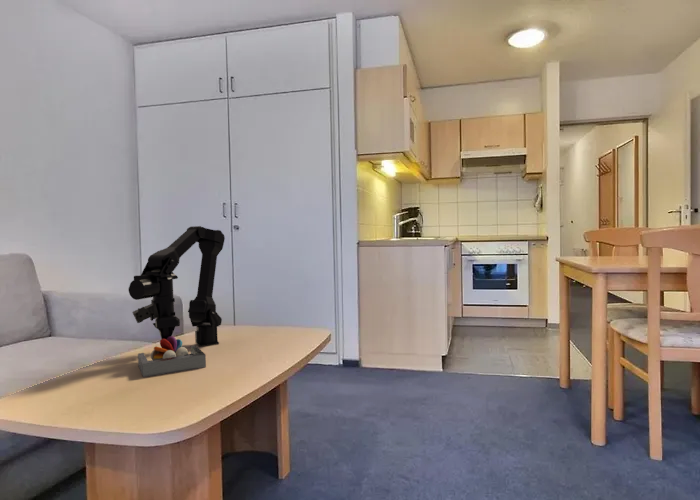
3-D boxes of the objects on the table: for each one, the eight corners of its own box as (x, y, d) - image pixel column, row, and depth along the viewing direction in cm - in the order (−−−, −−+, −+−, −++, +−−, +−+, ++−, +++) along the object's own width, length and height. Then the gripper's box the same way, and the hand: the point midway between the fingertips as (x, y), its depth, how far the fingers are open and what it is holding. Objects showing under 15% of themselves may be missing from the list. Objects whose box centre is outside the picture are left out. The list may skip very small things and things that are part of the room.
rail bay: (196, 356, 139) (195, 345, 139) (205, 367, 127) (205, 354, 127) (138, 365, 131) (137, 353, 131) (143, 377, 119) (142, 363, 119)
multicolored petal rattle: (146, 363, 133) (145, 338, 133) (174, 355, 141) (173, 332, 141) (164, 367, 128) (163, 341, 128) (192, 358, 137) (191, 334, 136)
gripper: (131, 294, 142) (133, 344, 143) (136, 301, 126) (138, 357, 126) (169, 291, 148) (171, 339, 148) (179, 297, 131) (181, 351, 132)
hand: (165, 346), depth 138 cm, fingers closed
